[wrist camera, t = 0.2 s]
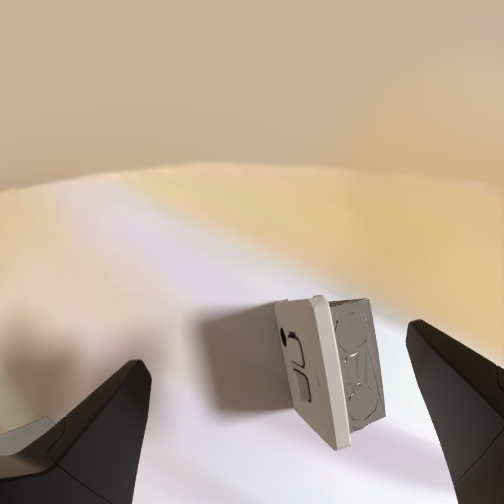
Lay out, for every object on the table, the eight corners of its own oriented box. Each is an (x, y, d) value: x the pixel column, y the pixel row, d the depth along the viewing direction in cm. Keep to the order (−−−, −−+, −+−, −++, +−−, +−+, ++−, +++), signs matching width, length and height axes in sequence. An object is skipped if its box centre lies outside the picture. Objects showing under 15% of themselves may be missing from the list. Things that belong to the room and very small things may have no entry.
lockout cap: (76, 441, 25) (7, 479, 13) (72, 467, 24) (10, 505, 13) (46, 415, 26) (-25, 442, 14) (43, 442, 25) (-20, 471, 13)
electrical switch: (272, 301, 24) (277, 304, 15) (334, 288, 24) (373, 282, 15) (293, 408, 23) (308, 462, 13) (352, 393, 23) (394, 437, 13)
